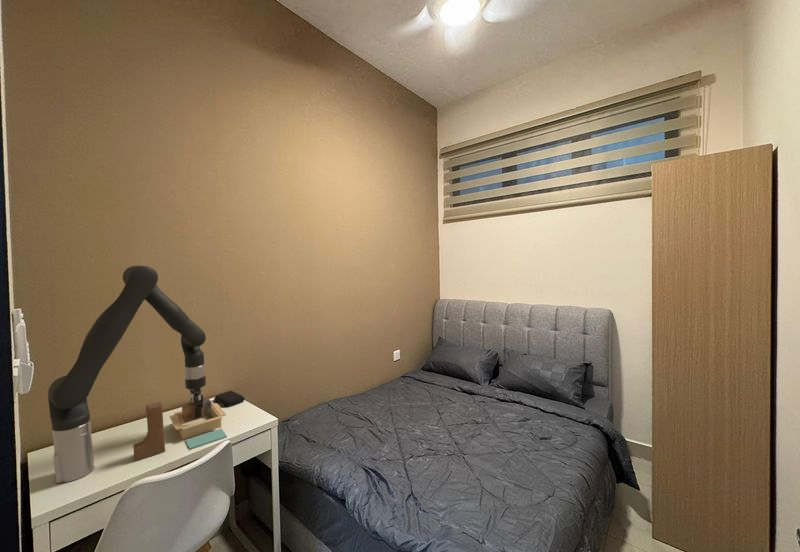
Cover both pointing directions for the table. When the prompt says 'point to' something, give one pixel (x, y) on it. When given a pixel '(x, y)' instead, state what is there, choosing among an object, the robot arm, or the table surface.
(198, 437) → the mat
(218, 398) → the carrying case or bag
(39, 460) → the table surface
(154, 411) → the wooden block
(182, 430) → the carton
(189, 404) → the box
